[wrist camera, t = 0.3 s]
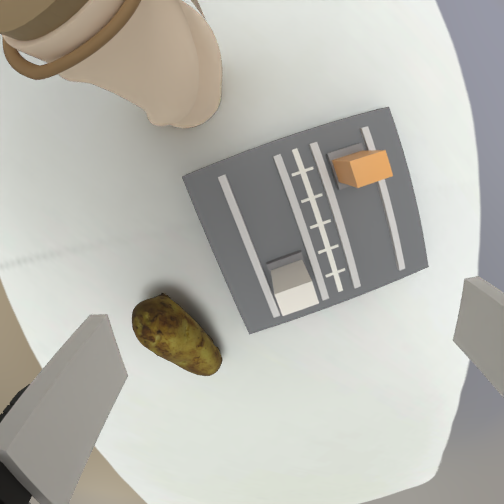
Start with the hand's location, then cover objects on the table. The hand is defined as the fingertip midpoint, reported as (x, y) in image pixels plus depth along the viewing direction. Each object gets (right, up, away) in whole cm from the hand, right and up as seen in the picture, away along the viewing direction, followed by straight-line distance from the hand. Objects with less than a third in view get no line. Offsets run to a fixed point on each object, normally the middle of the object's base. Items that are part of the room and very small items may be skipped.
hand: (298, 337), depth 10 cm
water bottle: (-8, +21, +21) cm, 31 cm away
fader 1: (+3, +1, +25) cm, 25 cm away
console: (+6, +6, +25) cm, 27 cm away
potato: (-10, -6, +30) cm, 32 cm away
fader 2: (+9, +12, +22) cm, 26 cm away
